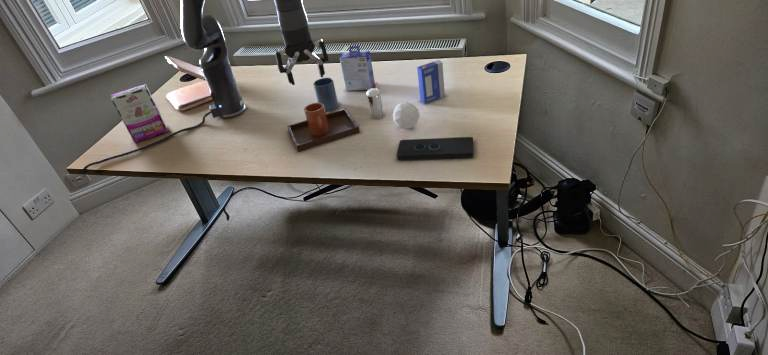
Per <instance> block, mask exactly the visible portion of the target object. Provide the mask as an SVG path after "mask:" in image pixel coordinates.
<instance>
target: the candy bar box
mask: <svg viewBox="0 0 768 355" xmlns="http://www.w3.org/2000/svg"><path fill="white" fill-rule="evenodd" d="M110 96H111V97H110V98H111V99H110V100H111V102H112V104H113V106H114V107H115V110H116V111H117V113H118V115H119V117H120V118H121V120H122V122H123V124H124V126H125V128H126V130H127V132H128V134H129V135H130V138H131V139H132V141H133V143H135V144H136V143H139V142H142V141H145V140H148V139H152V138H154V137H157V136H159V135H162V134H165V133H168V132H169V130H168V127H167V124H166V122H165V121H164V120H165V119H164V118H163V116H162V114H161V112H160V110H159V108H158V106H157V104H156V102H155V100H154V97H153V96H152V94H151V92H150V89H149V87H148V85H147V84H146V83H144V84H142V85H139V86H135V87H132V88H129V89H126V90H123V91H119V92H116V93H113V94H110Z"/></svg>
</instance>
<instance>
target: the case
mask: <svg viewBox="0 0 768 355" xmlns="http://www.w3.org/2000/svg"><path fill="white" fill-rule="evenodd" d="M164 58H165V59H166V60H167V62H168V64H169V65H170V66H173V67H174V68H175V69H176V70H178V71H179V72H180V73H183V74H187V75H190V76H192V77H194V78H197V79H200V80H201V81H198V82H195V83H192V84H189V85H185V86H183V87H181V88H178V89H175V90H171V91H169V92H168V93H167V94H166V99H167V100H168V101H169V102H170V104H171V105H172V106H173V108H174V109H175V110H176V111H177V112H184V111H187V110H189V109H193V108H195V107H198V106H200V105H202V104H205V103H208V102H211V101H213V99H212V97H211V94H210V90H209V87H208V84H207V82H206V79H205V77H204V74H203V72H202V69H201V67H199V66H197V65H194V64H191V63H188V62H186V61H183V60H181V59H177V58H175V57H172V56H170V55H165V56H164Z"/></svg>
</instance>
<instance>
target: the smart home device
mask: <svg viewBox="0 0 768 355" xmlns="http://www.w3.org/2000/svg"><path fill="white" fill-rule="evenodd" d="M473 158H474V137H473V136H461V137H460V136H459V137H435V138H414V139H412V138H411V139H401V140H399V142H398V148H397V151H396V159H397V161H425V160H427V161H428V160H430V161H431V160H455V159H456V160H457V159H473Z"/></svg>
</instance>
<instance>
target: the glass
mask: <svg viewBox="0 0 768 355" xmlns="http://www.w3.org/2000/svg"><path fill="white" fill-rule="evenodd" d="M313 88H314V93H315V96H316V100H317V103H322V104H323V105H324V108H325V112H332V111H334V110H336V109H337V108H339V99H338V95H337V91H336V87H335V81H334V79H333V78H331V77H321V78H319V79H316V80H315V81H314V82H313Z"/></svg>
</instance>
